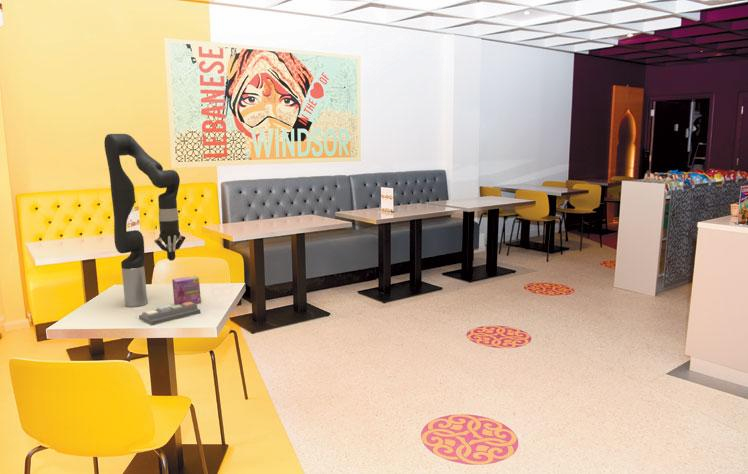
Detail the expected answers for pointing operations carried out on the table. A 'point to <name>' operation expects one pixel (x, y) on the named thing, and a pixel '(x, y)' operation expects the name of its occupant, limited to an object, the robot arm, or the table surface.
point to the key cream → (151, 312)
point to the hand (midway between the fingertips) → (171, 260)
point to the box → (186, 290)
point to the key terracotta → (187, 304)
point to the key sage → (176, 307)
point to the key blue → (163, 308)
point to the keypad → (169, 314)
